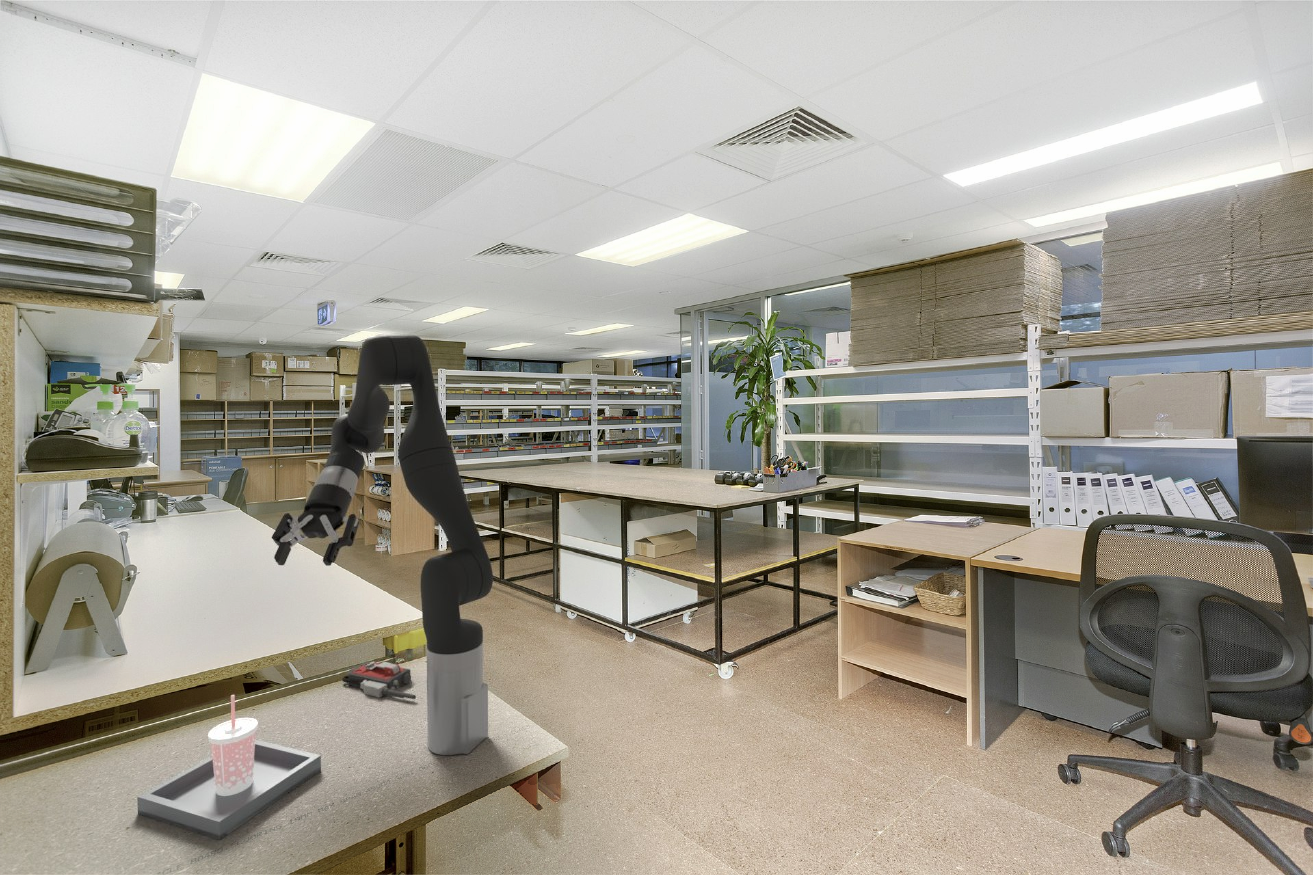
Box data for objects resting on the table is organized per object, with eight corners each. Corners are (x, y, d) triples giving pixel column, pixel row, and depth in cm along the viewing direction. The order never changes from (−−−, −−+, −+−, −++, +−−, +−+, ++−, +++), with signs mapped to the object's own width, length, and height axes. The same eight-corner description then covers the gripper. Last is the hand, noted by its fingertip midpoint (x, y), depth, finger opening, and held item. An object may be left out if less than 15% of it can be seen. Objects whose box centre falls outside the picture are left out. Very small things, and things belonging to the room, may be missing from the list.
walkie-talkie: (333, 689, 121) (411, 706, 115) (332, 669, 121) (411, 684, 115) (366, 672, 130) (441, 687, 123) (366, 652, 129) (441, 666, 123)
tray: (321, 770, 94) (320, 755, 94) (219, 839, 78) (219, 821, 78) (246, 751, 98) (246, 737, 98) (137, 813, 83) (137, 796, 83)
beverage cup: (268, 773, 92) (266, 685, 91) (241, 799, 86) (239, 705, 85) (228, 773, 92) (226, 685, 91) (198, 799, 86) (196, 705, 85)
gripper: (289, 481, 117) (254, 552, 106) (362, 482, 118) (335, 553, 107) (304, 503, 122) (272, 573, 112) (374, 504, 123) (348, 573, 112)
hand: (302, 563), depth 109 cm, fingers open, 8 cm apart
